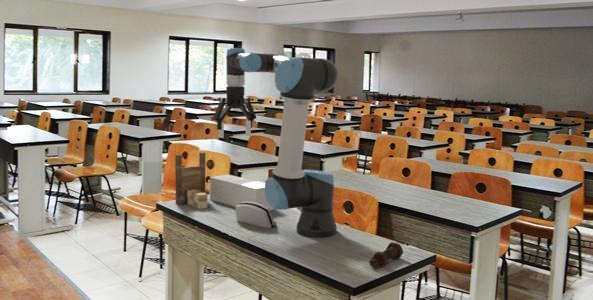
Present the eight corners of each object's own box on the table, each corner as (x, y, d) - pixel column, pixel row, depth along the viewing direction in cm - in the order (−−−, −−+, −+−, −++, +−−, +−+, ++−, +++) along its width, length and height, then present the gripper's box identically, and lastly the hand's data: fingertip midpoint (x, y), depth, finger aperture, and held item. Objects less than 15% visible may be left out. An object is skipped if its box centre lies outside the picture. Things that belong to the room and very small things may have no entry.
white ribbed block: (209, 200, 252) (209, 177, 250) (227, 196, 259) (228, 174, 258) (255, 213, 230) (256, 188, 228) (274, 209, 237) (274, 185, 236)
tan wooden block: (207, 207, 237) (207, 193, 236) (199, 208, 234) (199, 195, 234) (193, 201, 246) (193, 188, 245) (185, 203, 244) (185, 190, 243)
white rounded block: (277, 225, 212) (272, 203, 208) (270, 232, 209) (265, 209, 204) (244, 218, 221) (239, 197, 217) (237, 224, 218) (231, 203, 214)
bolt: (370, 274, 168) (393, 260, 180) (383, 270, 165) (405, 256, 177) (362, 256, 169) (386, 244, 181) (375, 252, 166) (398, 239, 178)
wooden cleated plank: (207, 200, 248) (207, 153, 245) (179, 205, 240) (179, 155, 236) (203, 199, 251) (203, 152, 248) (175, 203, 242) (175, 154, 239)
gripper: (254, 85, 237) (253, 134, 240) (204, 85, 221) (204, 137, 224) (264, 86, 231) (264, 136, 234) (214, 86, 215) (214, 139, 218)
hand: (234, 136), depth 229 cm, fingers open, 13 cm apart
